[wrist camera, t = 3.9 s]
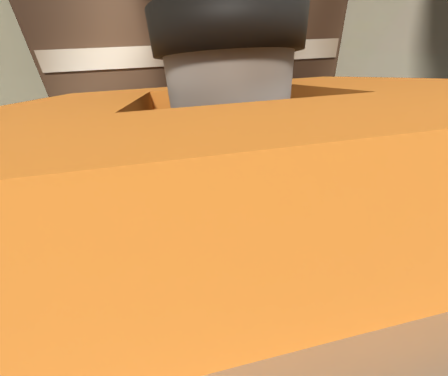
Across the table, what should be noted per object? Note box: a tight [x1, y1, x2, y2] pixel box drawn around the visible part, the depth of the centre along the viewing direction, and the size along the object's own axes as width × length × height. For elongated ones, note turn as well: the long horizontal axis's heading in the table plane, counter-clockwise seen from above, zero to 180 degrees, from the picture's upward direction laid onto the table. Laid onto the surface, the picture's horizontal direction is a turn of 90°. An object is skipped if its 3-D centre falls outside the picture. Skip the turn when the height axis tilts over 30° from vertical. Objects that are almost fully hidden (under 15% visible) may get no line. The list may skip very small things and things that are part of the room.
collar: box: [0, 76, 448, 376], centre depth 6 cm, size 11×4×9 cm, turn 93°
